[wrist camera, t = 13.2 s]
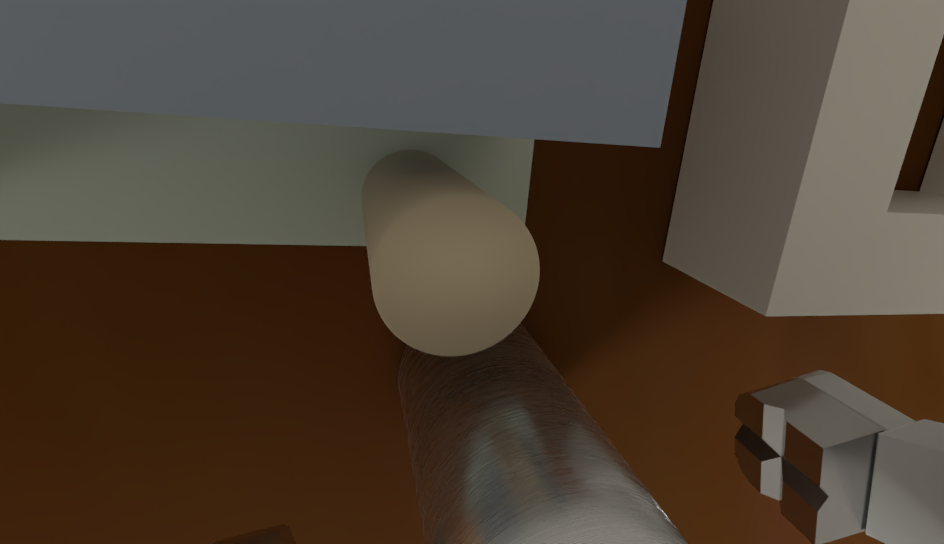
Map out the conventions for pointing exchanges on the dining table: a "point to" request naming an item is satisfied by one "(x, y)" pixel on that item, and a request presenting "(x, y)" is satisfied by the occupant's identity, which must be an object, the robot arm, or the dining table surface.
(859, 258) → the slot block
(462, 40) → the bar
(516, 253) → the peg rack
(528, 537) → the steel pin
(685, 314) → the dining table surface
